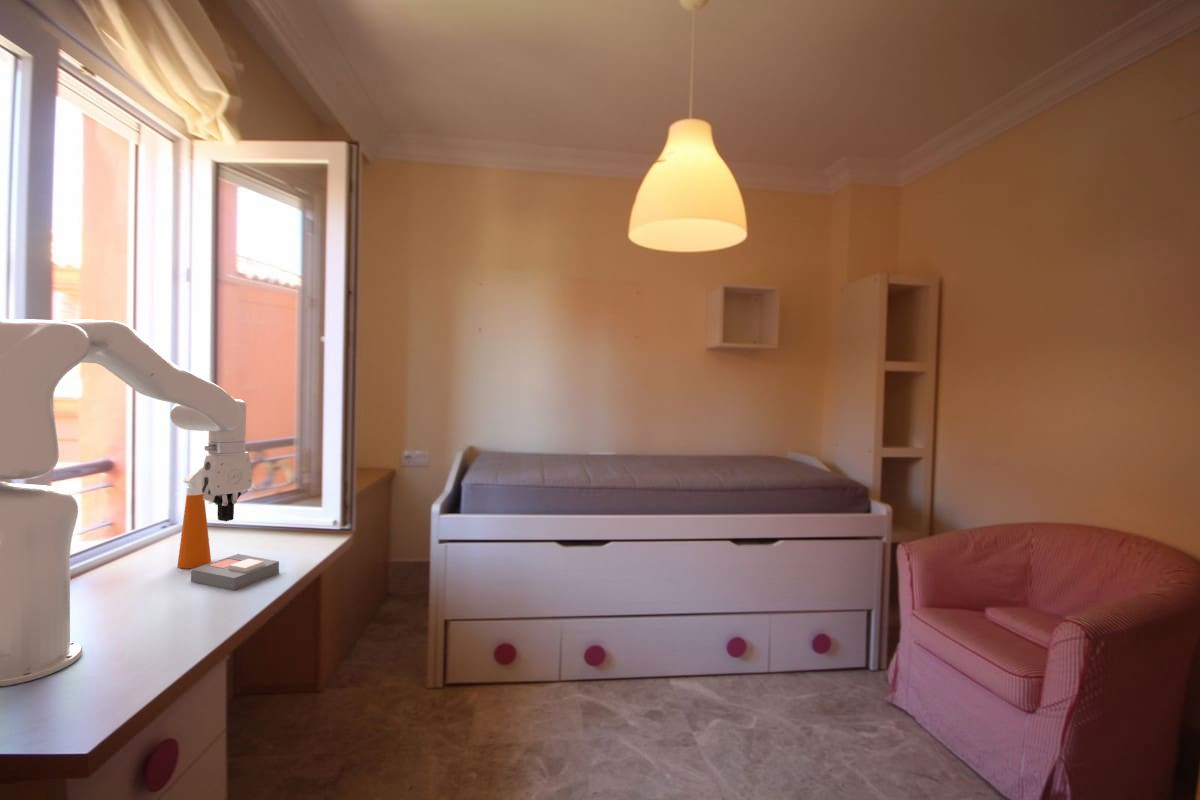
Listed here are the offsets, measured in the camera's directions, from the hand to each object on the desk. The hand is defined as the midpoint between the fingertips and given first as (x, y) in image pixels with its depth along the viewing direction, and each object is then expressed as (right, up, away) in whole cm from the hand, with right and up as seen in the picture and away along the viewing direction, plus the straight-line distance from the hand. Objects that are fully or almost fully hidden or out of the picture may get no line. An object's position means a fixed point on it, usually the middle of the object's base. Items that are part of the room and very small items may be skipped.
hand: (225, 519), depth 130 cm
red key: (-1, -14, +1) cm, 14 cm away
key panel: (+3, -14, 0) cm, 15 cm away
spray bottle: (-13, -14, +9) cm, 21 cm away
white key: (+6, -13, -1) cm, 14 cm away
